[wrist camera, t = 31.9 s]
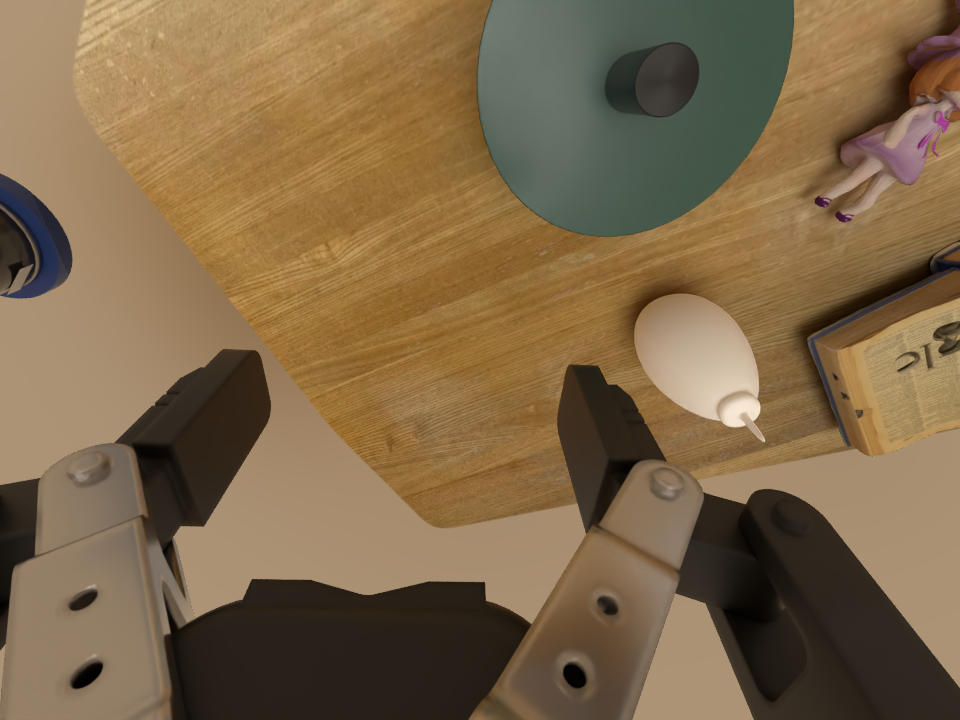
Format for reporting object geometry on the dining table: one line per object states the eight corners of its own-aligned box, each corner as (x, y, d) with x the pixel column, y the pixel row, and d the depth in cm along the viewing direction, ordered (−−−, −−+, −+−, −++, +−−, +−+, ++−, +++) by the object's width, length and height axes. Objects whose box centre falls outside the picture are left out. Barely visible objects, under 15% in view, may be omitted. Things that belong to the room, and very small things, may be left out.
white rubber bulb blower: (609, 296, 41) (687, 418, 26) (693, 261, 39) (830, 370, 24) (631, 360, 45) (711, 499, 30) (709, 330, 43) (836, 463, 28)
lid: (469, 224, 27) (467, 256, 22) (487, -146, 19) (491, -237, 13) (717, 239, 27) (773, 274, 22) (840, -113, 19) (975, -189, 14)
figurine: (819, 206, 31) (1095, -44, 22) (754, 158, 36) (958, -62, 27) (873, 246, 36) (1120, 51, 27) (808, 199, 41) (999, 21, 32)
